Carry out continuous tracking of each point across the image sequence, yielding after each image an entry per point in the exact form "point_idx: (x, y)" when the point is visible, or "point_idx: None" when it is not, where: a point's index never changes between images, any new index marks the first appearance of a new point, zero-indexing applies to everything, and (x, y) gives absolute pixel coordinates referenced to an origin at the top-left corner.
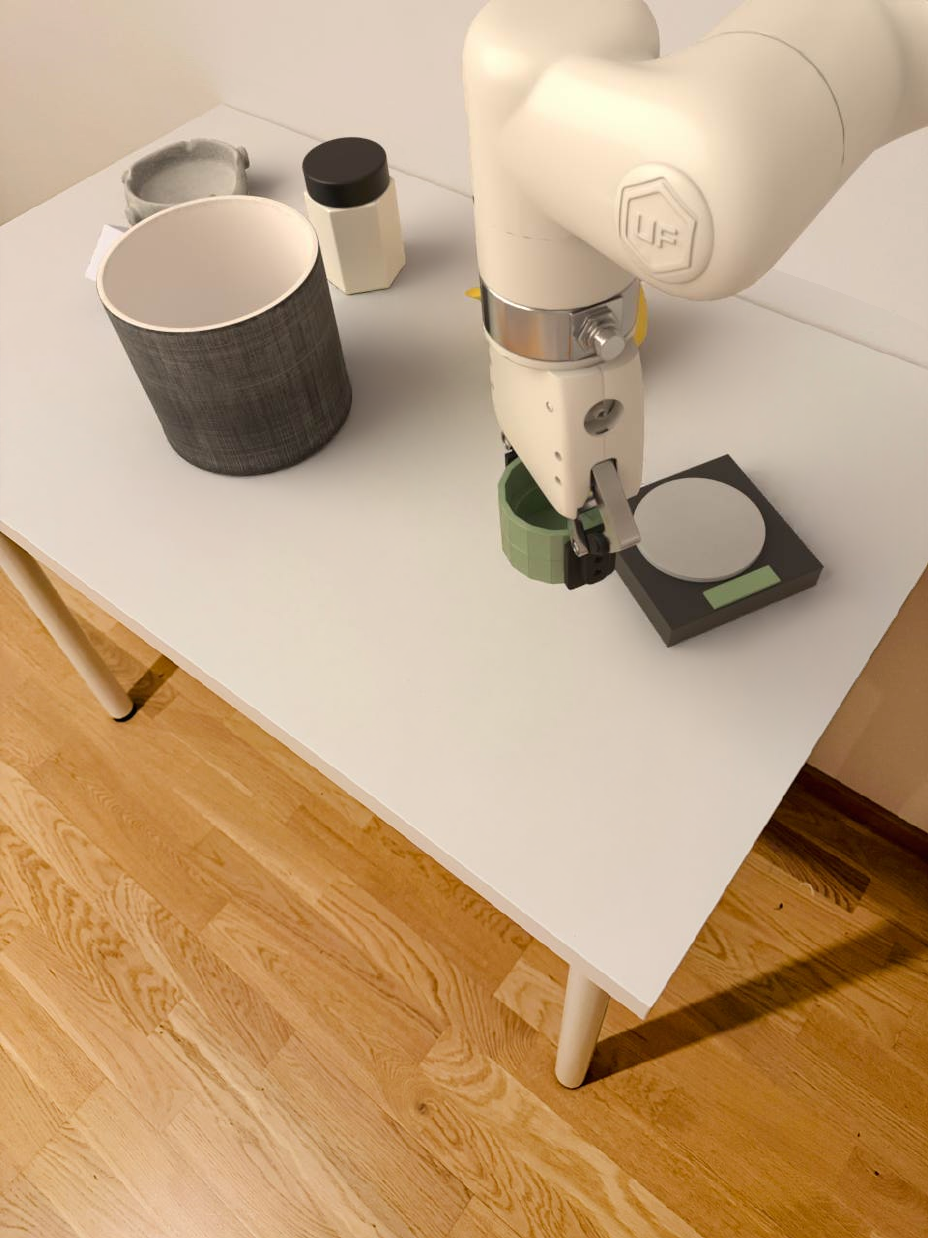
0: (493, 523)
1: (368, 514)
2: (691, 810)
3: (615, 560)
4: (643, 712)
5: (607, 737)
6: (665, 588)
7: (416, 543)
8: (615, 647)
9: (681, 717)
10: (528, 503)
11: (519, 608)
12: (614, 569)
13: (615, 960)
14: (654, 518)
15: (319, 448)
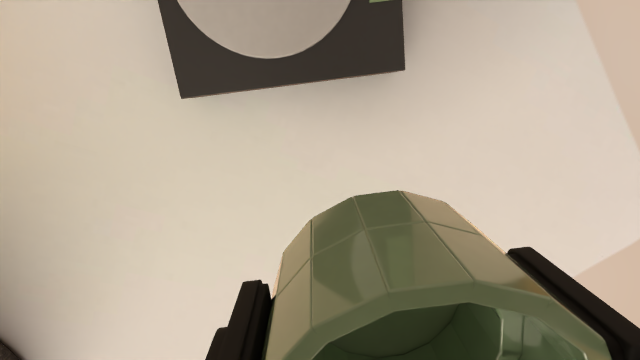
0: (163, 200)
1: (121, 318)
2: (564, 126)
3: (552, 263)
4: (454, 129)
5: (463, 173)
6: (344, 49)
7: (173, 282)
8: (371, 128)
9: (476, 94)
10: (315, 356)
11: (289, 207)
12: (531, 248)
13: (634, 234)
14: (230, 14)
15: (9, 352)
